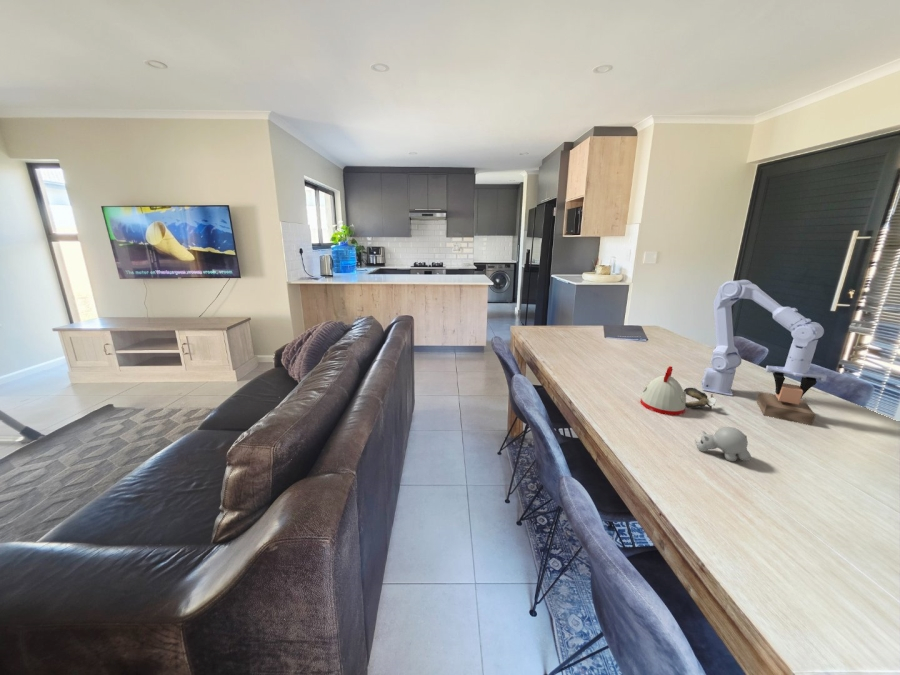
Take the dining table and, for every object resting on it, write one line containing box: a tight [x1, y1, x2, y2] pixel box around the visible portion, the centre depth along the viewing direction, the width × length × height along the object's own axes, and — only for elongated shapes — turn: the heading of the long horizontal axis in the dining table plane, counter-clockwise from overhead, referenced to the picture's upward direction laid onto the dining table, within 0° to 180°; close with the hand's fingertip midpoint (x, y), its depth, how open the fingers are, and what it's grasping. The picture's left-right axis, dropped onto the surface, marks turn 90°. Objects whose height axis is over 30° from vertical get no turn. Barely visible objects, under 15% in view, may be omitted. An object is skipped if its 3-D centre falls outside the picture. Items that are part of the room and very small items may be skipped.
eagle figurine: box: [683, 387, 717, 410], centre depth 122 cm, size 8×7×9 cm
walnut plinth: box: [756, 392, 816, 426], centre depth 118 cm, size 12×12×4 cm
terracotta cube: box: [775, 382, 803, 404], centre depth 116 cm, size 5×5×5 cm
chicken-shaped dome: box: [639, 365, 687, 416], centre depth 122 cm, size 14×14×15 cm
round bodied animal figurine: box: [694, 426, 752, 462], centre depth 95 cm, size 7×12×8 cm, turn 60°
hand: (787, 395), depth 117 cm, fingers closed on terracotta cube, 5 cm apart
